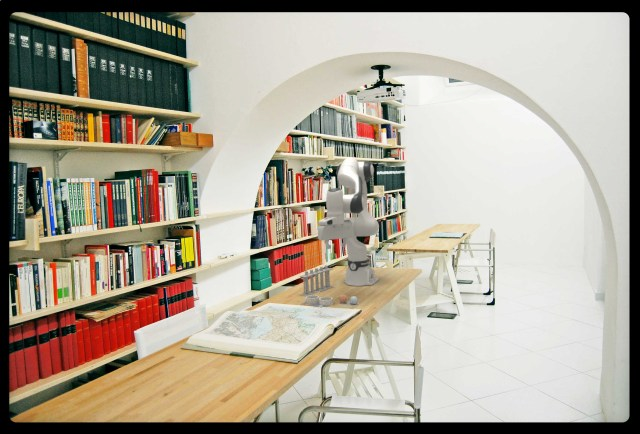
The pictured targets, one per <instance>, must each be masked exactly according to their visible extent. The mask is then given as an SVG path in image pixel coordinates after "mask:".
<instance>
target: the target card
mask: <svg viewBox="0 0 640 434" xmlns="http://www.w3.org/2000/svg"><path fill="white" fill-rule="evenodd" d="M335 304H336V302H333V304H332V305H335ZM299 305H301V306H302V305H303V306H309V307H315V308H322V307H326V308H328V307H331V305H328V306H323V305H320V304H319V303H316V304H308V303H306V301H304V302H302V303H300V304H299Z"/></svg>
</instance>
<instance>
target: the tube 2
mask: <svg viewBox="0 0 640 434" xmlns="http://www.w3.org/2000/svg"><path fill="white" fill-rule="evenodd" d="M333 303H334V298H333V297H330V296H321V297H320V298H319V304H320V305H323V306H328V305H330V306H333V305H334V304H333ZM328 307H329V306H328Z"/></svg>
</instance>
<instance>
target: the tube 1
mask: <svg viewBox="0 0 640 434" xmlns="http://www.w3.org/2000/svg"><path fill="white" fill-rule="evenodd" d="M319 298H321V297H320V296H319V295H317V294H311V295H308V296H305V302H306V303H308V304H316V303H319Z"/></svg>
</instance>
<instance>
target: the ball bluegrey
mask: <svg viewBox="0 0 640 434" xmlns="http://www.w3.org/2000/svg"><path fill="white" fill-rule="evenodd" d="M358 300H359V299H358V297H357V296H355V295H352V296H350V297H349V302H350V303H351V304H356V303H359V301H358Z"/></svg>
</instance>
